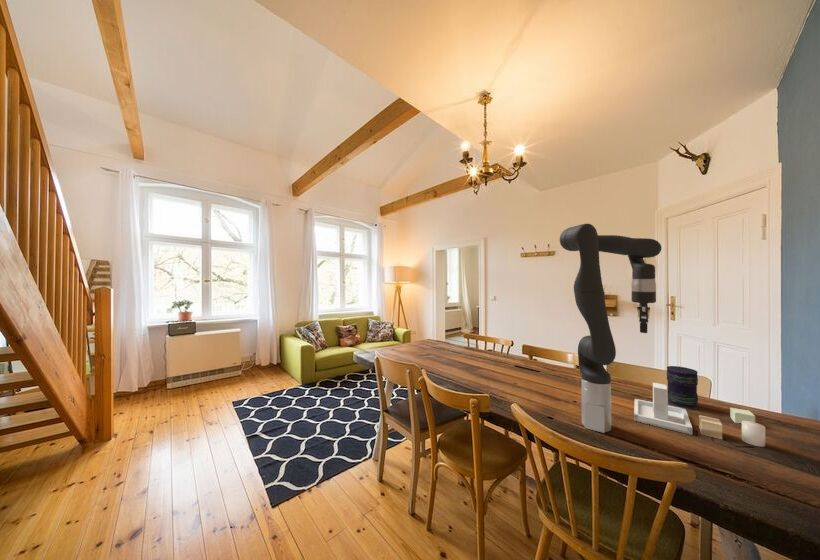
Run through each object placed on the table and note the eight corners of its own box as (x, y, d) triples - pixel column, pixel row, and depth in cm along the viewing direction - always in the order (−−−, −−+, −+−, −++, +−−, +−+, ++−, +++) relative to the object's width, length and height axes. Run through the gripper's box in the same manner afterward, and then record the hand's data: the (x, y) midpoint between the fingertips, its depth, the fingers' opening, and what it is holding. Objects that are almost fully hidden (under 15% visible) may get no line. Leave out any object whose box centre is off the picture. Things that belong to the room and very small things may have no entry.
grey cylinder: (763, 448, 91) (763, 429, 91) (739, 440, 95) (740, 422, 95) (766, 443, 93) (766, 425, 93) (743, 436, 97) (743, 419, 97)
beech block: (722, 439, 96) (722, 425, 96) (701, 434, 99) (701, 420, 99) (719, 433, 100) (719, 419, 100) (699, 428, 103) (699, 415, 103)
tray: (692, 435, 99) (692, 427, 99) (634, 420, 109) (634, 414, 109) (685, 415, 113) (685, 408, 113) (634, 404, 123) (634, 398, 123)
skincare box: (652, 411, 114) (652, 382, 114) (666, 414, 112) (666, 384, 112) (653, 417, 110) (653, 386, 109) (668, 421, 107) (668, 389, 107)
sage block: (755, 426, 104) (755, 416, 104) (735, 423, 107) (734, 412, 107) (749, 421, 108) (749, 410, 108) (730, 417, 111) (730, 407, 111)
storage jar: (695, 411, 116) (695, 375, 116) (663, 402, 124) (663, 368, 124) (700, 404, 122) (700, 370, 122) (669, 396, 130) (669, 364, 130)
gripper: (656, 291, 104) (656, 335, 104) (655, 290, 115) (655, 329, 115) (631, 291, 109) (631, 333, 109) (631, 289, 120) (631, 327, 120)
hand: (643, 331), depth 112 cm, fingers open, 8 cm apart
